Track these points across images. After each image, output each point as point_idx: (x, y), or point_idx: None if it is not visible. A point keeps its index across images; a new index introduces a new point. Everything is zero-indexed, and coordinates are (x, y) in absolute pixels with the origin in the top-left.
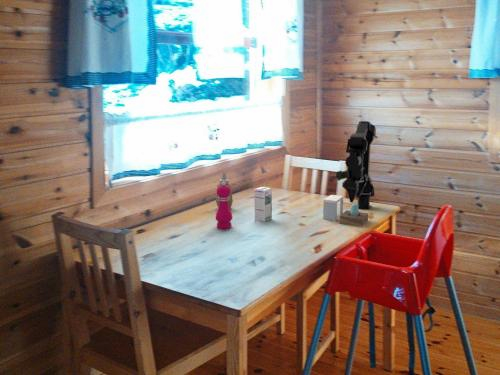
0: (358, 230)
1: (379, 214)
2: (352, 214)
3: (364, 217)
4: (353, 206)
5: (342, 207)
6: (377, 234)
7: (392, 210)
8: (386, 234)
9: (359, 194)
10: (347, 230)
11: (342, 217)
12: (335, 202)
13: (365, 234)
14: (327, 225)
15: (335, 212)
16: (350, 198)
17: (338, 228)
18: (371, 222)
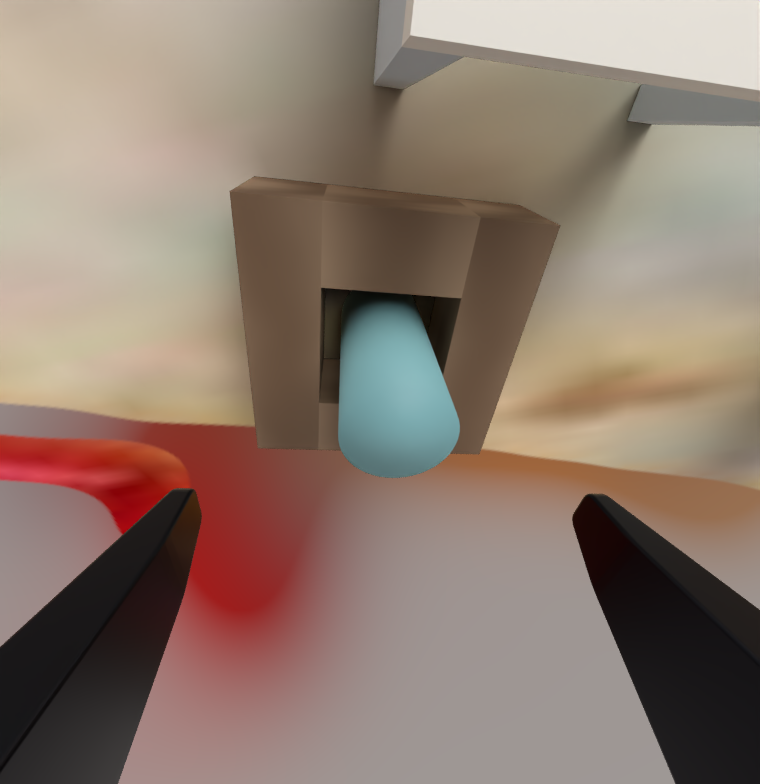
0: (152, 398)
1: (651, 441)
2: (341, 351)
3: None
4: (338, 425)
5: (717, 121)
6: None
7: (749, 486)
8: None
9: (599, 585)
10: (77, 318)
11: (238, 234)
12: (410, 2)
13: (92, 456)
14: (70, 5)
15: (384, 58)
16: (105, 574)
17: (66, 212)
18: None
